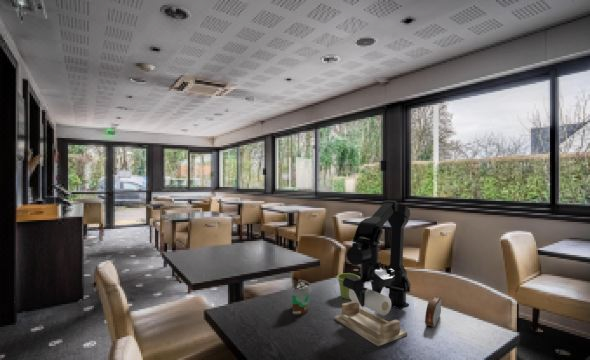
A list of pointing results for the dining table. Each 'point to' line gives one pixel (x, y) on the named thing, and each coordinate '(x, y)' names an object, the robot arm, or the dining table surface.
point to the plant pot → (343, 289)
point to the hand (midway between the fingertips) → (369, 304)
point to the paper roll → (373, 301)
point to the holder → (369, 324)
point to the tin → (433, 311)
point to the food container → (301, 298)
